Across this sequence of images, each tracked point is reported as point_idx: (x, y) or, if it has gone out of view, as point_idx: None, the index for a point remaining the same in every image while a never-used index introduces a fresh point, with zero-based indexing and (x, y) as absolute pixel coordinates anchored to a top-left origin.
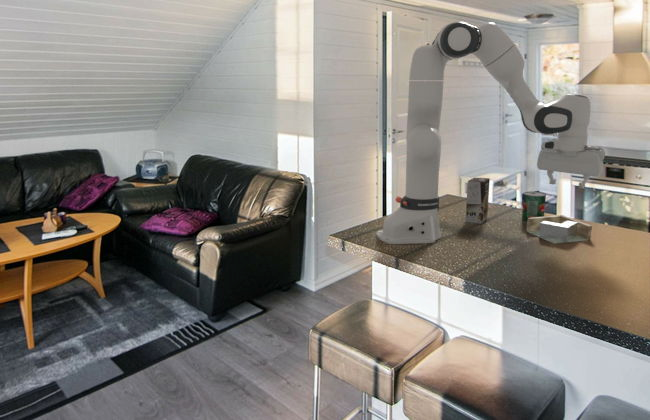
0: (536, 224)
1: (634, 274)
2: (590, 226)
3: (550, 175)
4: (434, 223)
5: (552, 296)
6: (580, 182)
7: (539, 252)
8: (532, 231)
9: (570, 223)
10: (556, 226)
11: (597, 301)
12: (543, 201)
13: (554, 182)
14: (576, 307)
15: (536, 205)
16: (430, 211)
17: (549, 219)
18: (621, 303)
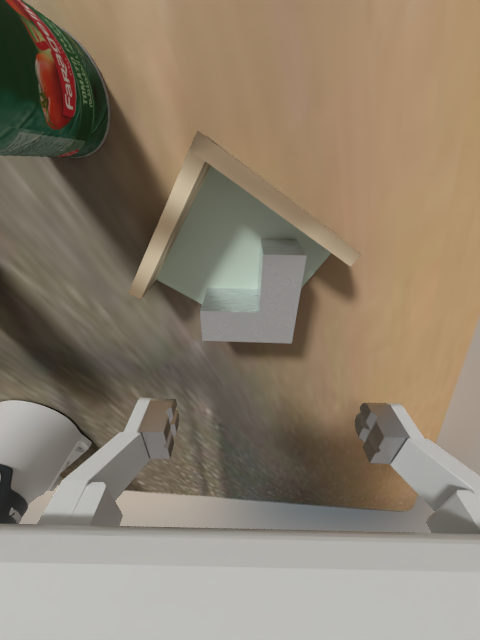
0: (160, 264)
1: (432, 406)
2: (355, 259)
3: (119, 487)
4: (57, 469)
5: (324, 492)
6: (382, 448)
7: (256, 395)
8: (165, 273)
9: (286, 290)
10: (256, 340)
11: (372, 485)
12: (26, 79)
13: (174, 424)
14: (351, 499)
15: (37, 141)
16: (31, 499)
17: (179, 221)
18: (398, 480)
